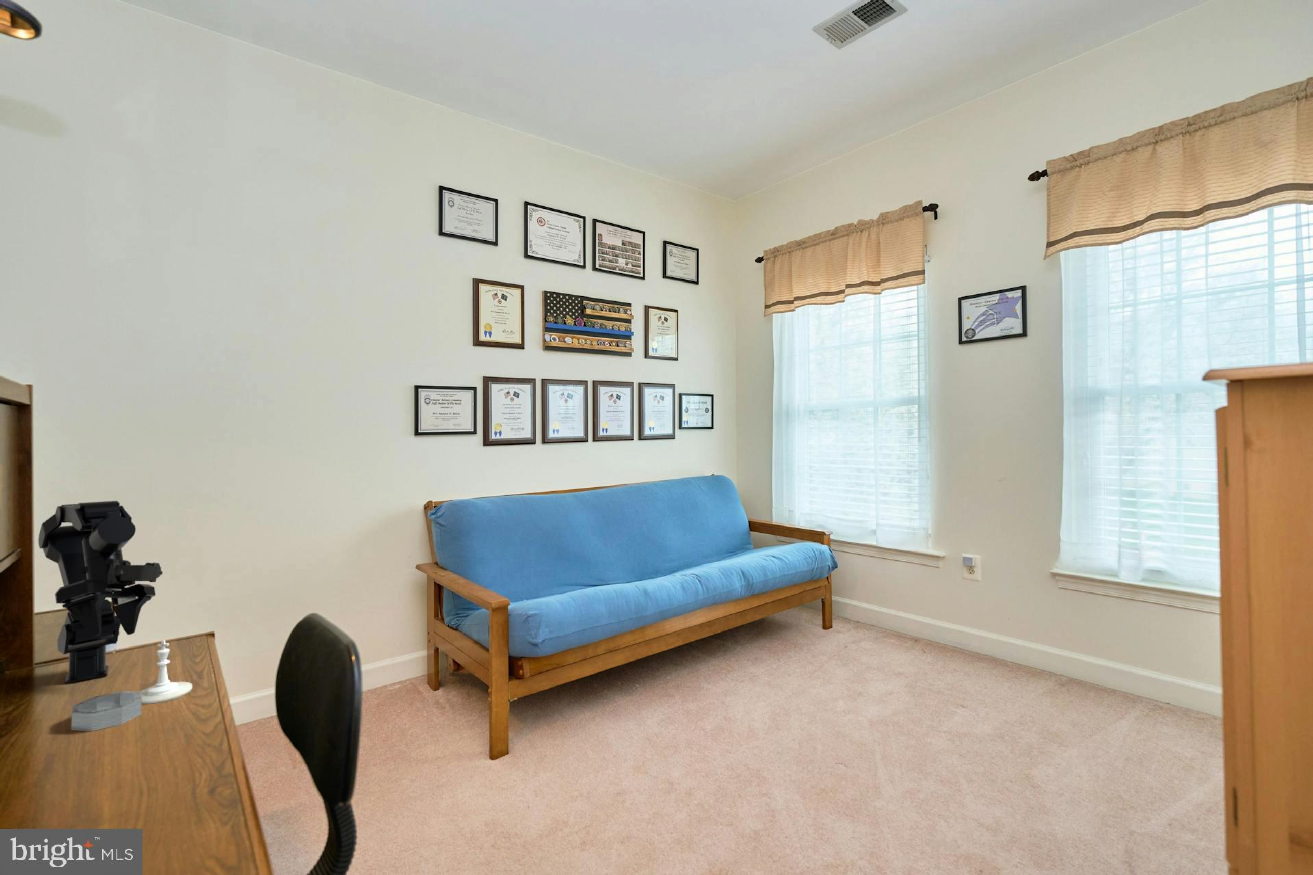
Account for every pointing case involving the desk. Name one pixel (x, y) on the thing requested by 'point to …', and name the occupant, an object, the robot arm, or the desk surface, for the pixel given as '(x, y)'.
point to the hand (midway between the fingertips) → (114, 634)
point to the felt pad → (182, 690)
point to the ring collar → (106, 711)
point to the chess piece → (162, 674)
